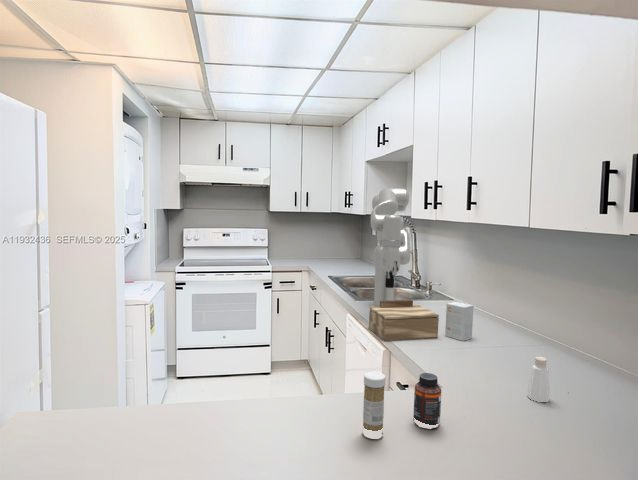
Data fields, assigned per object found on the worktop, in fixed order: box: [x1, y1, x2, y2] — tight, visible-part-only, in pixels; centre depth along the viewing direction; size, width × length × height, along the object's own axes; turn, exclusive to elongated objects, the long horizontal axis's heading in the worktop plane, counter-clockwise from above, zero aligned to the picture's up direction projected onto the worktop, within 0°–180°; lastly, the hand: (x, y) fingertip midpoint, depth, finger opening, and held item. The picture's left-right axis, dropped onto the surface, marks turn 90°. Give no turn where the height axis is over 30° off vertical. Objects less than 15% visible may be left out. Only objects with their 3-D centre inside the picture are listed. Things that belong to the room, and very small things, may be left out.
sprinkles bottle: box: [362, 371, 386, 431], centre depth 89 cm, size 5×5×13 cm
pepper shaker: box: [526, 356, 551, 403], centre depth 109 cm, size 5×5×11 cm
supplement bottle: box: [413, 372, 442, 425], centre depth 94 cm, size 6×6×11 cm
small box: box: [444, 301, 474, 342], centre depth 160 cm, size 8×6×13 cm
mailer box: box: [368, 308, 440, 342], centre depth 163 cm, size 16×22×8 cm
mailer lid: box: [369, 299, 440, 319], centre depth 163 cm, size 16×22×3 cm
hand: (389, 287), depth 175 cm, fingers closed
